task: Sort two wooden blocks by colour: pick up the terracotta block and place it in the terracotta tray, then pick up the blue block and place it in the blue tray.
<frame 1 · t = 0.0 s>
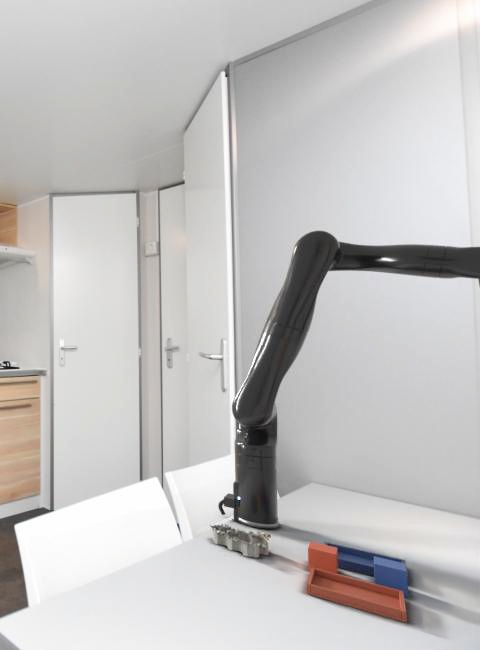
egg carton: (239, 548, 105), on the table
terracotta tray: (354, 597, 84), on the table
blue block: (390, 588, 88), on the table
terracotta block: (323, 571, 94), on the table
blue tray: (363, 565, 97), on the table
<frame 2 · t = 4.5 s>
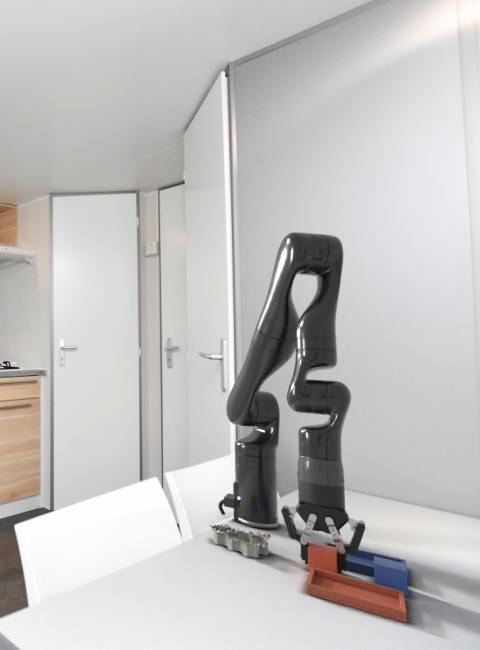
hand: (323, 566, 94), 1 cm above the table, tool pointing down, fingers closed on terracotta block, 4 cm apart
terracotta block: (323, 571, 94), on the table, touching gripper
everything else where it was.
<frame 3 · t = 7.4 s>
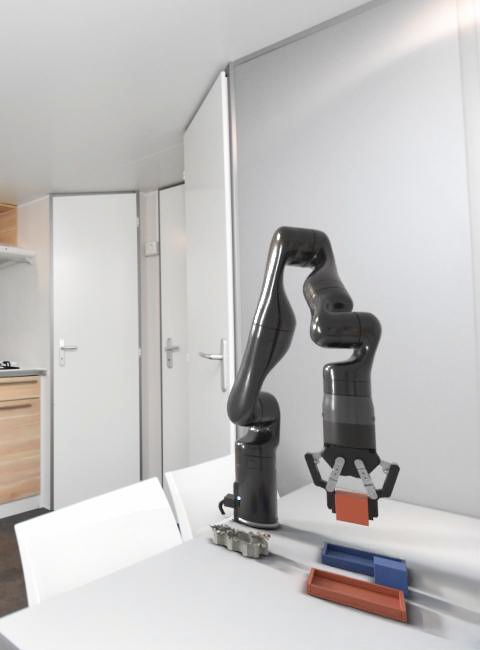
hand: (352, 515, 85), 14 cm above the table, tool pointing down, fingers closed on terracotta block, 4 cm apart
terracotta block: (352, 520, 85), point 13 cm above the table, touching gripper
everything else where it was.
when the fingers open (1 cm above the table, at t = 10.6 s): terracotta block stays where it is, resting on terracotta tray.
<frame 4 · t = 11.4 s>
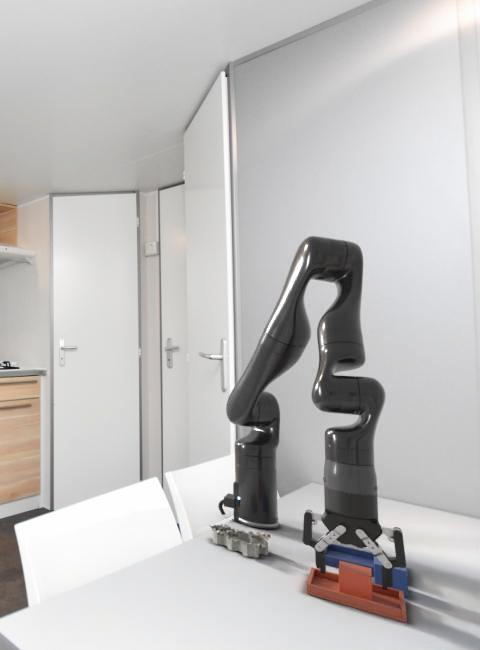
hand: (352, 579, 84), 3 cm above the table, tool pointing down, fingers open, 8 cm apart
terracotta block: (355, 594, 84), resting on terracotta tray
everything else where it was.
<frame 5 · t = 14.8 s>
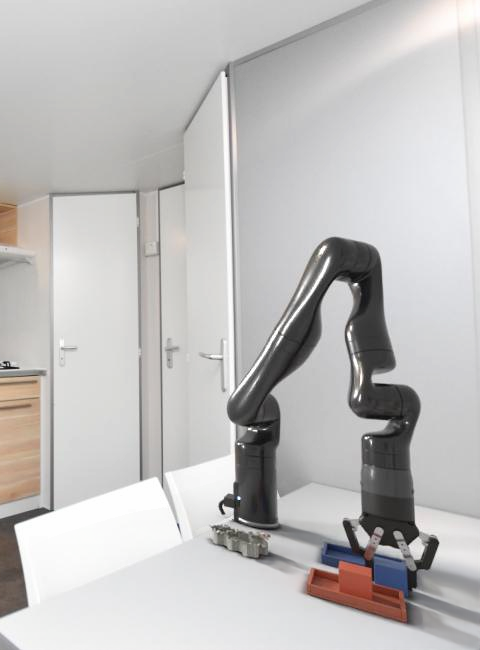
hand: (390, 584, 88), 1 cm above the table, tool pointing down, fingers closed on blue block, 4 cm apart
blue block: (390, 588, 88), on the table, touching gripper
everything else where it was.
when the fingers open (1 cm above the table, at t = 20.9 s): blue block stays where it is, resting on blue tray.
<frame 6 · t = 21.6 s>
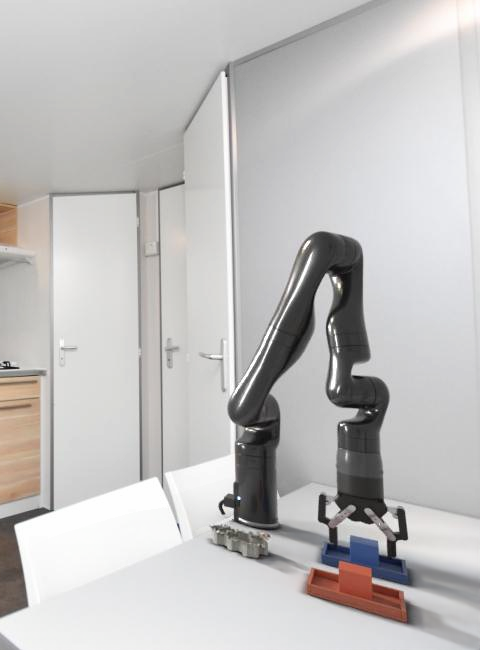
hand: (361, 552, 97), 3 cm above the table, tool pointing down, fingers open, 8 cm apart
blue block: (364, 563, 97), resting on blue tray
everything else where it was.
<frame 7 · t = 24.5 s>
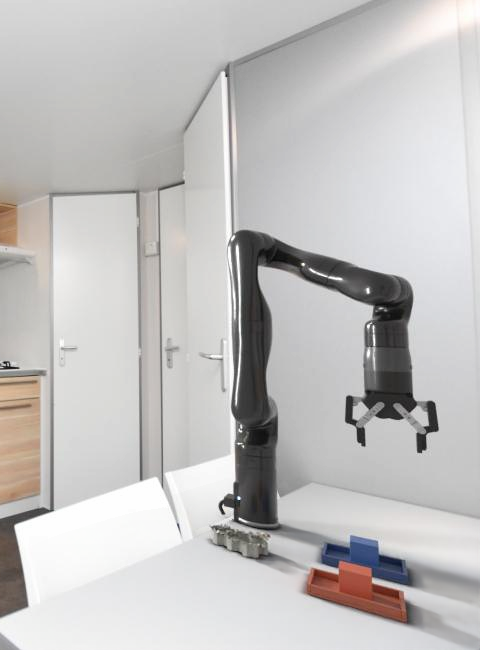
hand: (390, 449, 97), 24 cm above the table, tool pointing down, fingers open, 8 cm apart
nothing on the table moved.
at the end: terracotta block inside the target area in the terracotta tray (0.2 cm from its centre), point 0.5 cm above the terracotta tray's base; blue block inside the target area in the blue tray (0.2 cm from its centre), point 0.5 cm above the blue tray's base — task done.
